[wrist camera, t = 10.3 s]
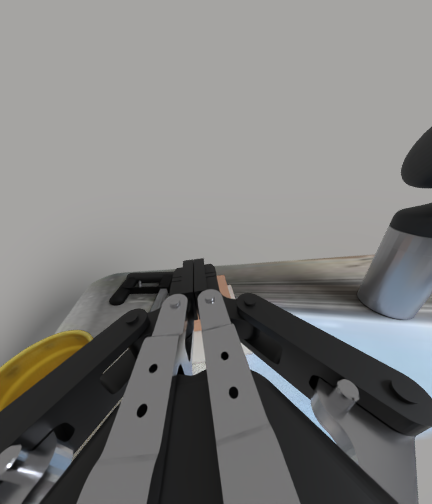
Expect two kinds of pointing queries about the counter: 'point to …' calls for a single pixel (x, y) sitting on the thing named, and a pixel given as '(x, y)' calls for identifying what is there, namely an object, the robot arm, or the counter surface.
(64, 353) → the plant pot
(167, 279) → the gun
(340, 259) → the counter surface
